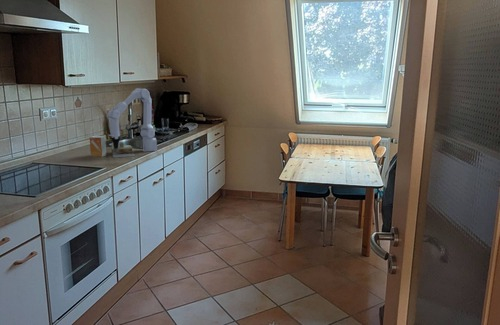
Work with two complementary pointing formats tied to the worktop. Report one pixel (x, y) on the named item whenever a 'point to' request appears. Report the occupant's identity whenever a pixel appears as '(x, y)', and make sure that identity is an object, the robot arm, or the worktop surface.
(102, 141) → the small box
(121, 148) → the mint green slab
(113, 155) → the mat
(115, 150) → the open brown box
